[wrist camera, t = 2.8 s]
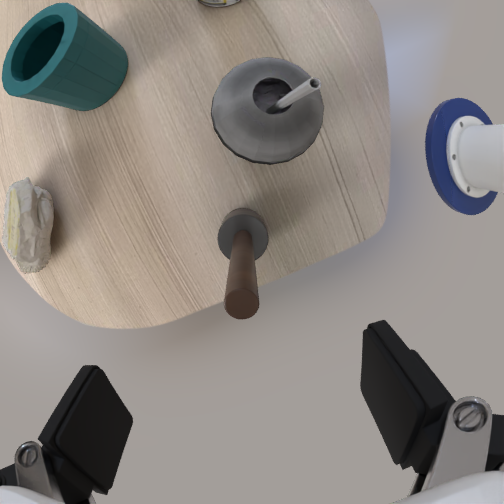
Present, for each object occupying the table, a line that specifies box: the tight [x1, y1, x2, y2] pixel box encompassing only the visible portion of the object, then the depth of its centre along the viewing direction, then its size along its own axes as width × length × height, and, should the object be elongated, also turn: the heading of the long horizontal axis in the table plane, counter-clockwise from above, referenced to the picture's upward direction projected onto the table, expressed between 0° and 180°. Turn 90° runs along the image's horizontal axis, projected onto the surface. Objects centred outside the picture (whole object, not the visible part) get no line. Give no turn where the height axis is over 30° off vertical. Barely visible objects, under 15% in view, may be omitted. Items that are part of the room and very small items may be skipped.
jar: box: [2, 3, 128, 111], centre depth 18 cm, size 10×10×12 cm
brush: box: [218, 208, 268, 319], centre depth 22 cm, size 5×5×17 cm
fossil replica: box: [2, 178, 54, 274], centre depth 25 cm, size 12×8×10 cm
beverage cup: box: [211, 57, 324, 165], centre depth 18 cm, size 7×7×20 cm
